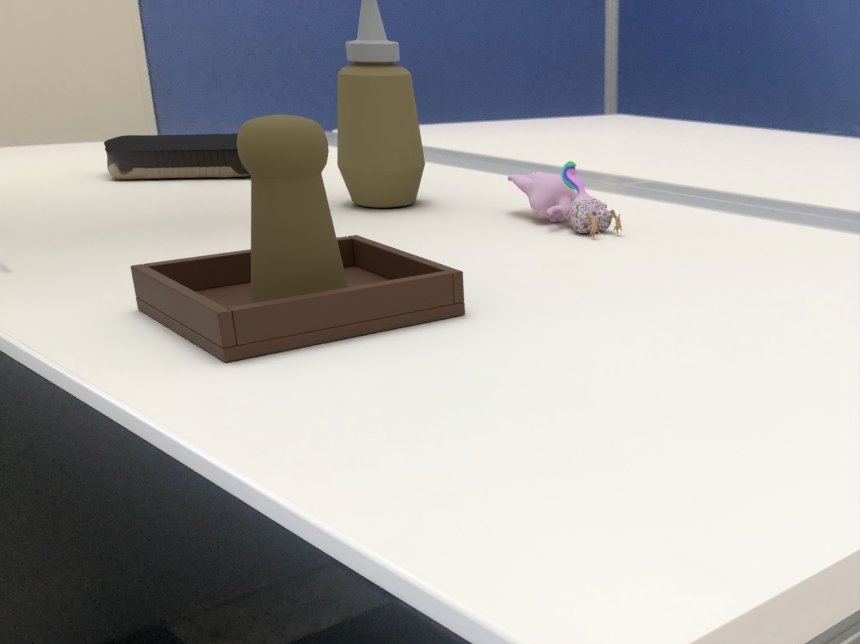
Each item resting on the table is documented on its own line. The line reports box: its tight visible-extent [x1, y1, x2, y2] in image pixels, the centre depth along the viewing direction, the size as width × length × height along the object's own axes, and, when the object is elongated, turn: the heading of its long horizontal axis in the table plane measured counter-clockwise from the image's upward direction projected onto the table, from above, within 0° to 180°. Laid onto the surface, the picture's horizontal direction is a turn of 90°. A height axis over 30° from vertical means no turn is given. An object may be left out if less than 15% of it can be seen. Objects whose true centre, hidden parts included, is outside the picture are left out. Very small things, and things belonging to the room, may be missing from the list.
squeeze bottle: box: [336, 0, 426, 209], centre depth 98 cm, size 8×8×18 cm
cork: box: [237, 114, 348, 303], centre depth 65 cm, size 6×6×11 cm
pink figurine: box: [507, 160, 624, 238], centre depth 94 cm, size 6×6×15 cm
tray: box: [130, 234, 466, 363], centre depth 67 cm, size 16×14×3 cm
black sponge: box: [103, 133, 251, 180], centre depth 114 cm, size 16×8×4 cm, turn 104°
